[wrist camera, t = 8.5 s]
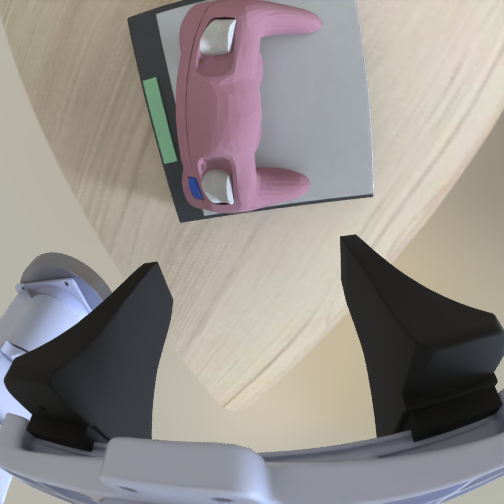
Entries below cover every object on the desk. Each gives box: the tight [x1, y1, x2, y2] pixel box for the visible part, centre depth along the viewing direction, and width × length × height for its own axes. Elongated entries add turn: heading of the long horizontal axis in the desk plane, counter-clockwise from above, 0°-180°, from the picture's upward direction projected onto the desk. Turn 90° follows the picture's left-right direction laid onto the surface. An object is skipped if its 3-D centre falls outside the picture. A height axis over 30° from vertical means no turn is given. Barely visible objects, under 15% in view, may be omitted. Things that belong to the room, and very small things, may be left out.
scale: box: [127, 0, 374, 223], centre depth 16 cm, size 12×13×3 cm
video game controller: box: [176, 0, 322, 213], centre depth 13 cm, size 10×5×7 cm
